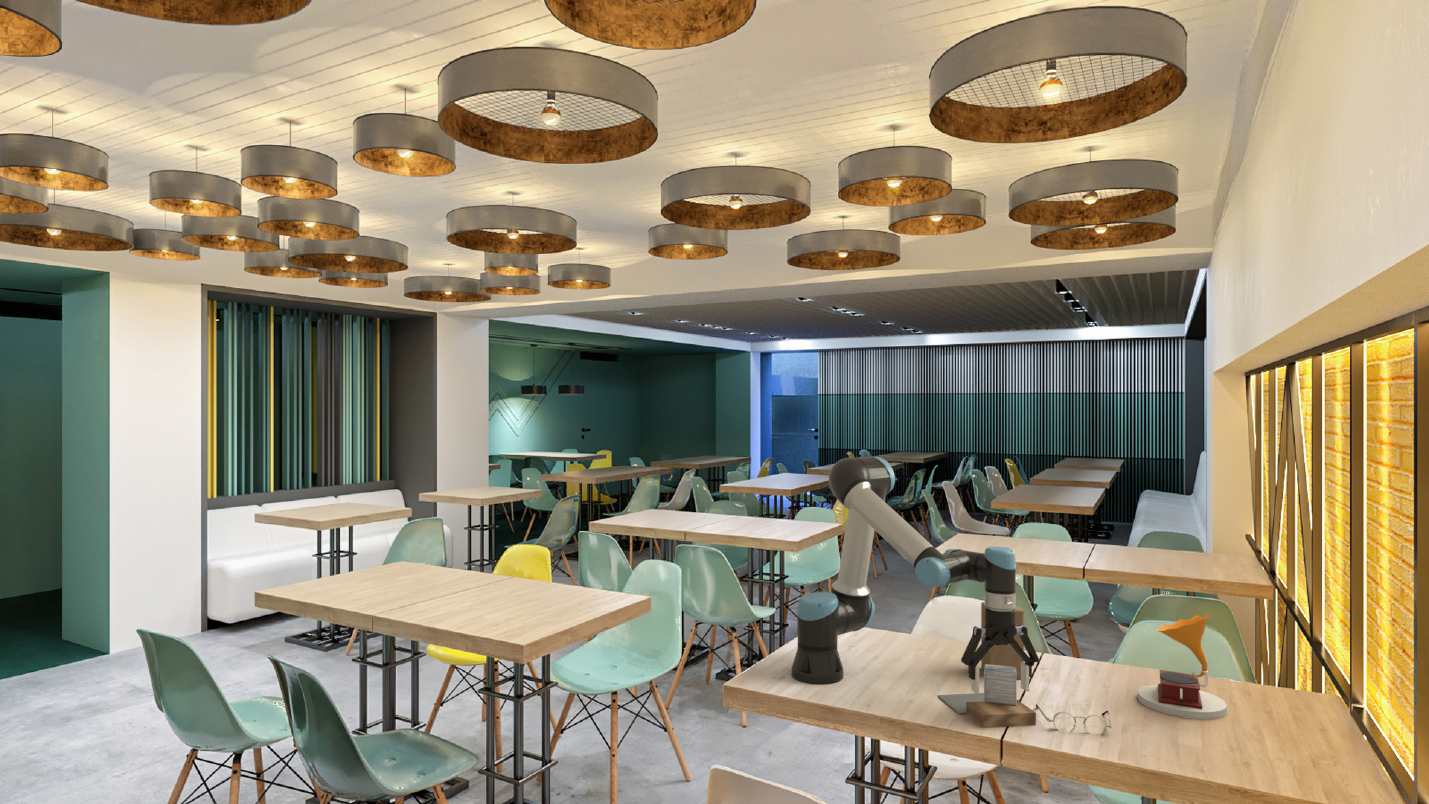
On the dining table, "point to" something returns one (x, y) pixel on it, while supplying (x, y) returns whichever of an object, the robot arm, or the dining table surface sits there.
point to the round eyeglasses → (1078, 717)
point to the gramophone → (1184, 679)
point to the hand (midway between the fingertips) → (1000, 690)
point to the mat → (961, 700)
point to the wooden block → (1004, 646)
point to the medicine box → (1000, 684)
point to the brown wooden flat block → (1000, 714)
